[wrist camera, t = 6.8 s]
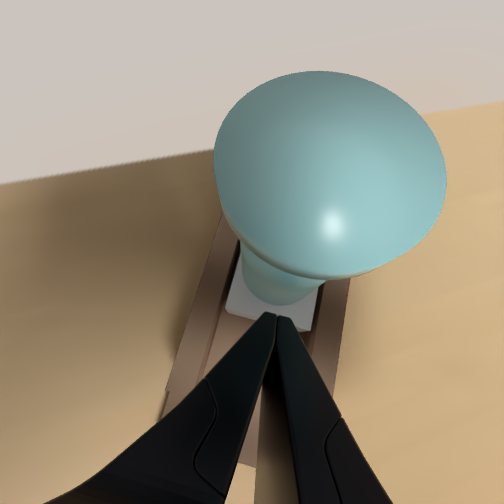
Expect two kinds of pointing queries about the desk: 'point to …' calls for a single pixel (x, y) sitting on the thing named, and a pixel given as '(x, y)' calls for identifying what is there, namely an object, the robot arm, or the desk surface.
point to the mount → (233, 327)
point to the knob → (321, 187)
